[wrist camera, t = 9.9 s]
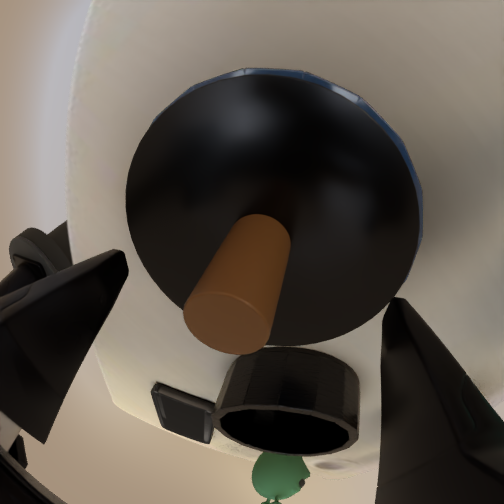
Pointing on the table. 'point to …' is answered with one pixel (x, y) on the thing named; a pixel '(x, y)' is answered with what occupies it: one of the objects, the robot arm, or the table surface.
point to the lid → (271, 212)
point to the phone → (183, 413)
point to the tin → (289, 402)
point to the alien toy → (278, 476)
